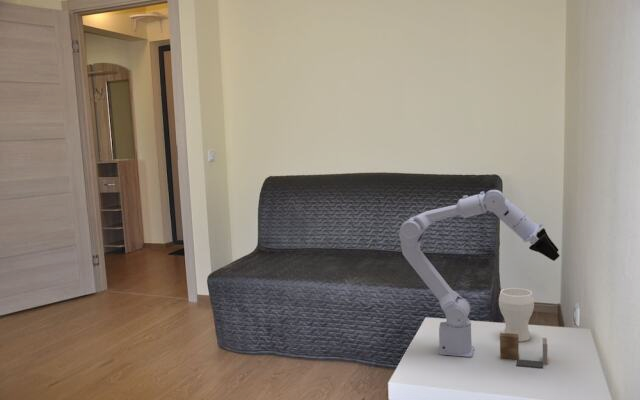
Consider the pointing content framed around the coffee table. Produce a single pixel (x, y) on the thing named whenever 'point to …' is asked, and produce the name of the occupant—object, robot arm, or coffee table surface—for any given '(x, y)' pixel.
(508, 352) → the brown wooden block
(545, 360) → the tile
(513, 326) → the cream vase
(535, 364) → the pad
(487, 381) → the coffee table surface
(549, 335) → the coffee table surface
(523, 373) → the coffee table surface
